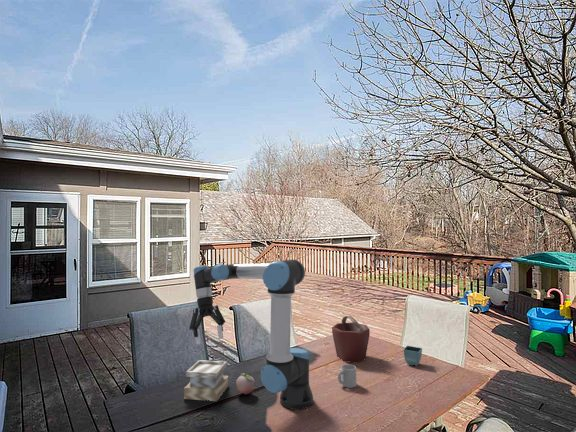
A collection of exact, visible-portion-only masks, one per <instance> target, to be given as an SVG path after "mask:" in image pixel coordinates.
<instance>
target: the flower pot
mask: <svg viewBox="0 0 576 432" xmlns="http://www.w3.org/2000/svg"><path fill="white" fill-rule="evenodd" d="M422 351H423V348H422V347H418V346H413V345H412V346H411V345H406V346H405V347H404V348H403V355H404V356H403V357H404V360H405V363H406V364H407V365H408V364H409V366H413V365H415V366H414V367H417V366H418V365H419V364H420V362H421V359H422V355H423V354H422Z"/></svg>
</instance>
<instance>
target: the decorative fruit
mask: <svg viewBox="0 0 576 432" xmlns="http://www.w3.org/2000/svg"><path fill="white" fill-rule="evenodd" d="M235 385H236V389H237V391H238V392H240V393H241V394H244V395H246V396H247V395H248V394H250V393H252V391H254V389H255V388H256V387H255V386H256V381H255V379H254V377H253V376H250V375H248V374H247V373H246V372H245V373H244V372H243V373H240V376H238V378H237V379H236V382H235Z"/></svg>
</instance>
